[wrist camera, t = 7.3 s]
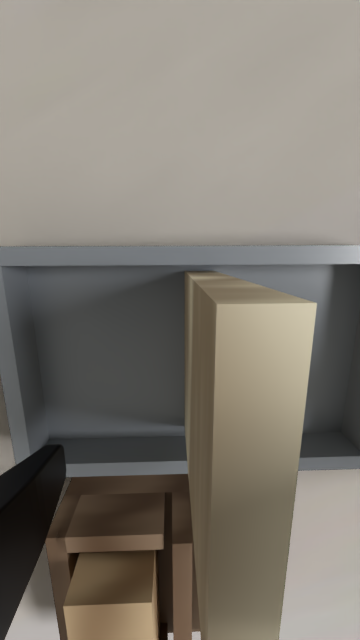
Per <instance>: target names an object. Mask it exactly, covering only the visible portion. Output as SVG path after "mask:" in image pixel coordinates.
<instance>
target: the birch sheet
mask: <svg viewBox="0 0 360 640" xmlns="http://www.w3.org/2000/svg"><path fill="white" fill-rule="evenodd" d="M316 309H317V303H315V302H312V301H309V300H305V299H302V298H299V297H296V296H293V295H290V294H286V293H283V292H280V291H277V290H274V289H270V288H267V287H264V286H261V285H258V284H255V283H251V282H248V281H245V280H242V279H239V278H235V277H232V276H229V275H226V274H223V273H220V272H216V271H185V438H186V451H187V464H188V477H189V490H190V503H191V516H192V529H193V542H194V555H195V567H196V580H197V593H198V606H199V619H200V632H201V640H279V632H280V624H281V615H282V606H283V597H284V589H285V580H286V571H287V562H288V554H289V545H290V536H291V527H292V519H293V510H294V501H295V492H296V484H297V475H298V466H299V457H300V449H301V440H302V431H303V422H304V414H305V405H306V396H307V387H308V379H309V370H310V361H311V352H312V344H313V335H314V326H315V317H316Z"/></svg>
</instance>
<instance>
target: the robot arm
mask: <svg viewBox="0 0 360 640" xmlns="http://www.w3.org/2000/svg"><path fill="white" fill-rule="evenodd" d="M65 478H66V462H65V453H64V447H63V445H61V444H47V445H45V446H43V447H42V448H40V449H39V450H37V451H36V452H35V453H33V454H32V455H30V456H29V457H27V458H26V459H24V460H23V461H21V462H20V463H18V464H17V465H15V466H14V467H12V468H11V469H9V470H8V471H6V472H5V473H4V474H2V475H1V476H0V640H4V639H5V637H6V635H7V632H8V630H9V627H10V625H11V623H12V620H13V618H14V615H15V613H16V611H17V608H18V606H19V604H20V601H21V599H22V596H23V594H24V592H25V589H26V587H27V585H28V582H29V580H30V577H31V575H32V573H33V570H34V568H35V565H36V563H37V561H38V558H39V556H40V553H41V551H42V548H43V546H44V543H45V541H46V538H47V535H48V532H49V529H50V525H51V522H52V519H53V516H54V513H55V510H56V507H57V503H58V500H59V497H60V494H61V491H62V488H63V484H64V481H65Z"/></svg>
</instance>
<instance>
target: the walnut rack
mask: <svg viewBox="0 0 360 640" xmlns="http://www.w3.org/2000/svg"><path fill="white" fill-rule="evenodd" d="M45 543H46V549H47V556H48V562H49V569H50V575H51V582H52V588H53V595H54V601H55V608H56V615H57V621H58V628H59V634H60V640H68V637H67V630H66V623H65V616H64V609H63V605H64V602H65V599H66V595H67V592H68V589H69V586H70V583H71V579H72V576H73V573H74V570H75V566H76V563H77V560H78V557H79V554H80V552H105V551H132V550H158V563H159V596H160V639H159V640H168V633H174V640H192V632H195V631H200V619H199V606H198V593H197V580H196V567H195V555H194V542H193V529H192V516H191V503H190V490H189V477H188V474H162V475H127V476H92V477H72V479H71V481H70V484H69V486H68V488H67V490H66V493H65V495H64V497H63V499H62V501H61V504H60V506H59V508H58V510H57V512H56V515H55V517H54V519H53V521H52V524H51V526H50V529H49V532H48V535H47V538H46V541H45Z"/></svg>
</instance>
